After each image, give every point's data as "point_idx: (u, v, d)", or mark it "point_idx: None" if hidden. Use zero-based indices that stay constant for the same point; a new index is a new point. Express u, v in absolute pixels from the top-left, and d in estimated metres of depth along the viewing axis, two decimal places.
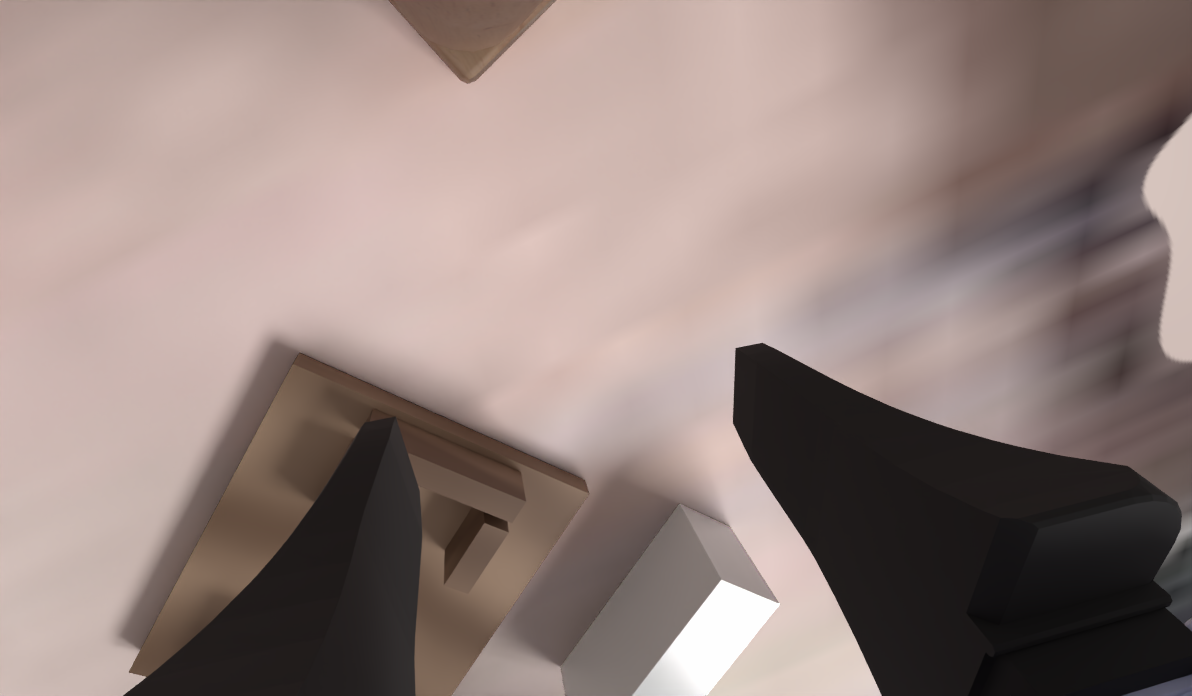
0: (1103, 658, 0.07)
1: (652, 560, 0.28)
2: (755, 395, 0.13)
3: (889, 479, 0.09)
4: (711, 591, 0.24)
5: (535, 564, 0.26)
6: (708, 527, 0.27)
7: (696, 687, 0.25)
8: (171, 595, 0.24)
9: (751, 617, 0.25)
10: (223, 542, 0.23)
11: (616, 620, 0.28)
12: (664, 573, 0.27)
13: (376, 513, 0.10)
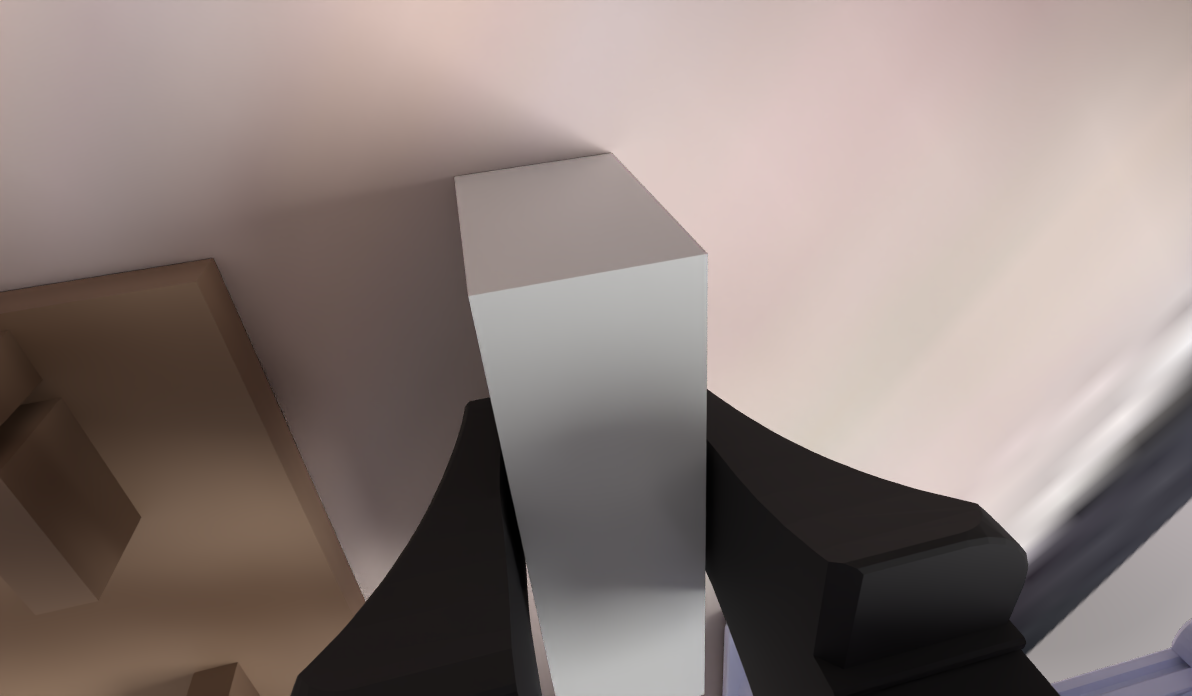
0: None
1: None
2: None
3: (753, 511, 0.09)
4: (478, 340, 0.08)
5: (267, 457, 0.13)
6: (525, 186, 0.11)
7: (666, 528, 0.10)
8: None
9: (656, 331, 0.08)
10: None
11: None
12: None
13: (504, 485, 0.10)
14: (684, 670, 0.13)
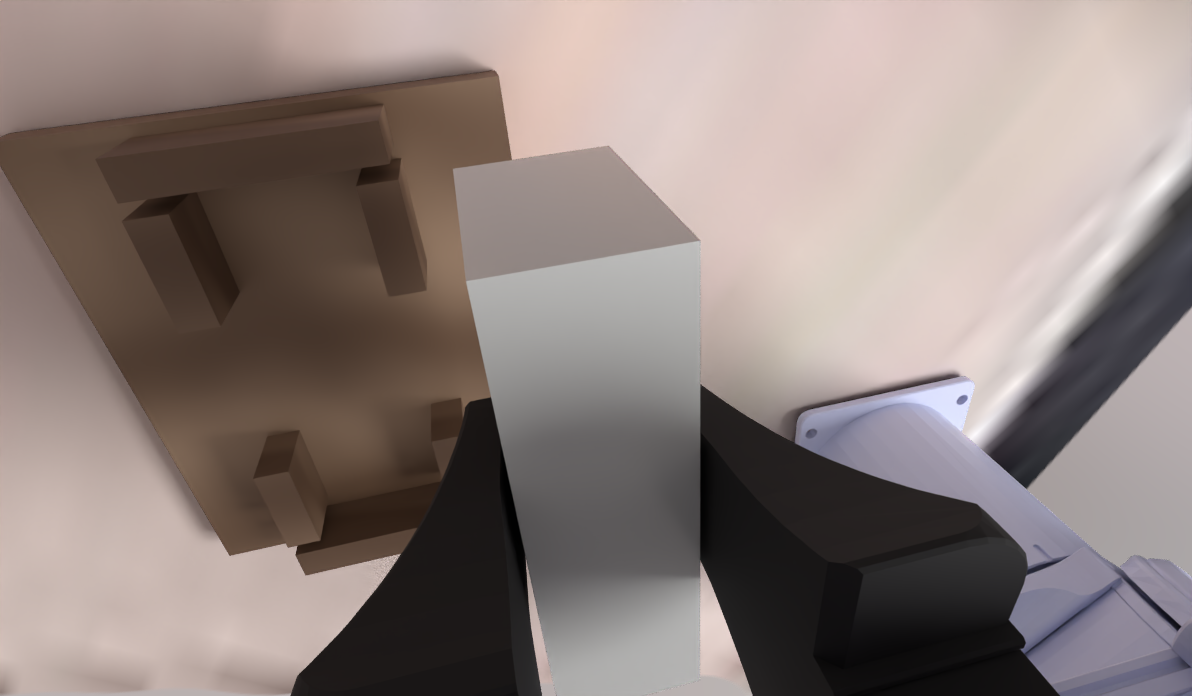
0: None
1: None
2: None
3: (752, 512, 0.09)
4: None
5: None
6: (523, 177, 0.11)
7: (661, 514, 0.11)
8: (182, 472, 0.20)
9: (650, 317, 0.09)
10: (165, 395, 0.19)
11: None
12: None
13: (504, 485, 0.10)
14: (679, 656, 0.13)
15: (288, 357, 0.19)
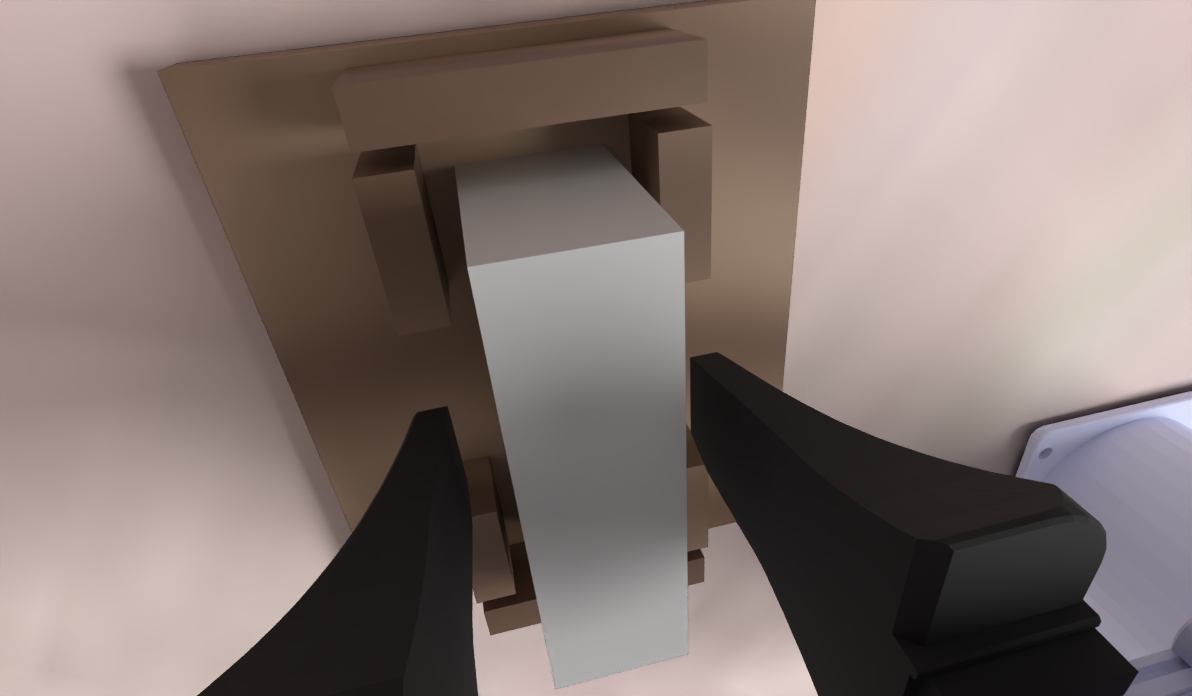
0: (1028, 681, 0.07)
1: None
2: (708, 405, 0.13)
3: (823, 494, 0.09)
4: None
5: (791, 188, 0.14)
6: (521, 173, 0.12)
7: (650, 490, 0.11)
8: (344, 508, 0.16)
9: (638, 302, 0.09)
10: (339, 414, 0.15)
11: None
12: None
13: (440, 499, 0.10)
14: (668, 630, 0.14)
15: None
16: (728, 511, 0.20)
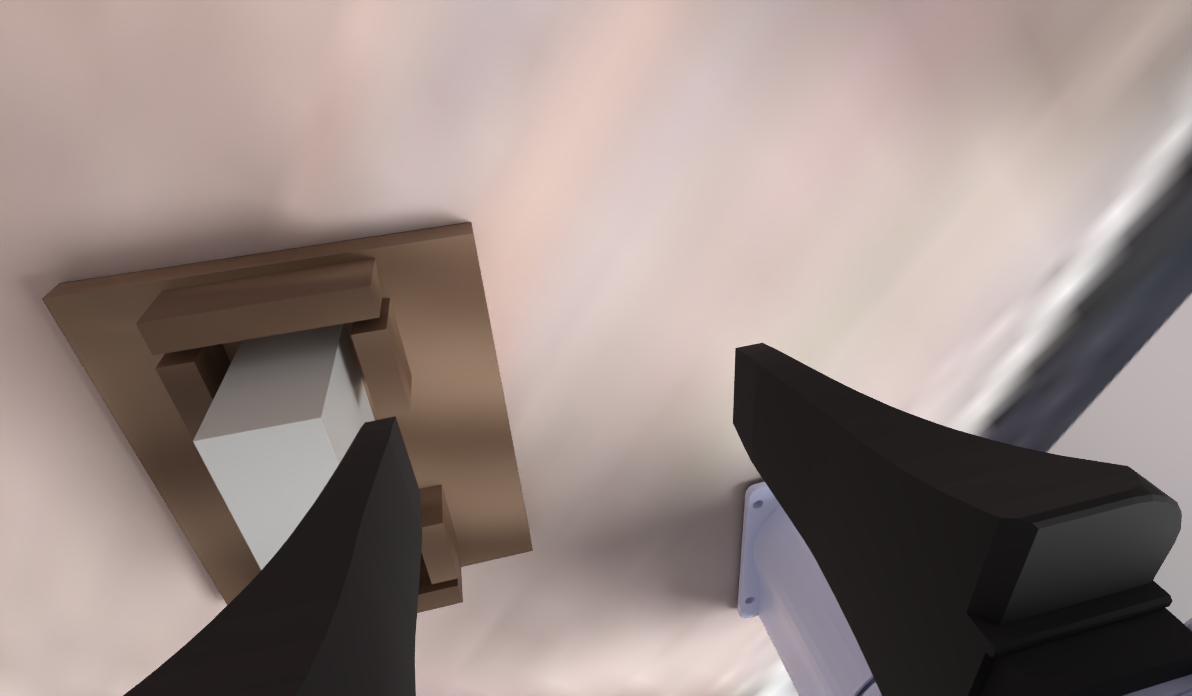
0: (1103, 659, 0.07)
1: None
2: (755, 395, 0.13)
3: (889, 479, 0.09)
4: (203, 460, 0.16)
5: (487, 341, 0.22)
6: (275, 352, 0.19)
7: None
8: (196, 550, 0.23)
9: (303, 453, 0.16)
10: (184, 489, 0.22)
11: None
12: None
13: (376, 513, 0.10)
14: None
15: None
16: (496, 549, 0.27)
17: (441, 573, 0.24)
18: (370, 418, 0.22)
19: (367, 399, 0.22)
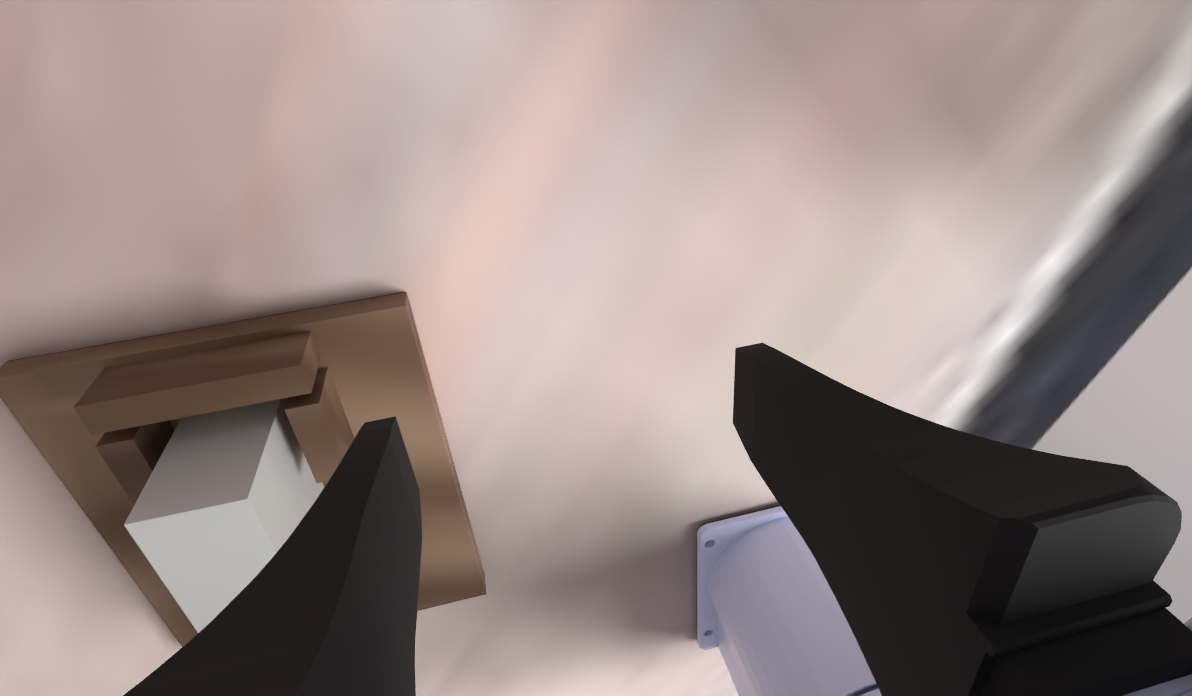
0: (1103, 659, 0.07)
1: None
2: (755, 395, 0.13)
3: (888, 479, 0.09)
4: (136, 541, 0.17)
5: (426, 403, 0.22)
6: (214, 425, 0.20)
7: None
8: (153, 603, 0.24)
9: (233, 531, 0.17)
10: (137, 548, 0.23)
11: None
12: None
13: (376, 513, 0.10)
14: None
15: None
16: (450, 594, 0.27)
17: None
18: (314, 479, 0.22)
19: None
